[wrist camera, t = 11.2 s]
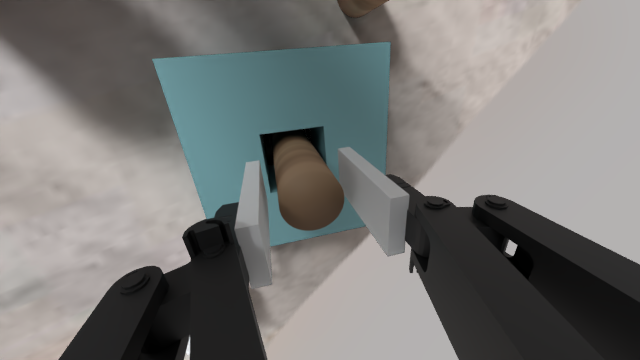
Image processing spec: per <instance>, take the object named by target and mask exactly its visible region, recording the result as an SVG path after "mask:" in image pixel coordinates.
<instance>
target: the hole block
mask: <svg viewBox="0 0 640 360" xmlns="http://www.w3.org/2000/svg"><path fill="white" fill-rule="evenodd" d="M390 45H391V42H380V43H366V44H352V45H338V46H325V47H311V48H297V49H283V50H269V51H255V52H242V53H228V54H214V55H200V56H186V57H173V58H159V59H152V60H153V63H154V66H155V69H156V72H157V75H158V78H159V80H160V83H161V86H162V89H163V92H164V95H165V98H166V101H167V104H168V107H169V110H170V113H171V116H172V119H173V122H174V125H175V127H176V130H177V133H178V136H179V139H180V142H181V145H182V148H183V151H184V154H185V157H186V160H187V163H188V166H189V169H190V171H191V174H192V177H193V180H194V183H195V186H196V189H197V192H198V195H199V198H200V201H201V204H202V207H203V210H204V213H205V215H206V218H207V219H210V218H214V216H215V213H216V211H217V210H218V209H219V208H220V207H221V206H222V205H225V204H230V203H236V202H239V200H240V194H241V188H242V182H243V177H244V171H245V165H246V162H251V161H258V160H260V165H261V170H262V175H263V180H264V185H265V190H266V195H267V200H268V215H269V234H270V247H271V246H275V245H280V244H285V243H289V242H294V241H299V240H303V239H308V238H313V237H317V236H322V235H327V234H332V233H336V232H341V231H346V230H350V229H355V228H360V227H364V226H366V225H365V224H364V222H363V221H362V219H361V218H360V216H359V215H358V214H357V212H356V211H355V209H354V208H353V206H352V205H351V204H350V202H349V201H348V199H347V198H346V197H345V195H344V205H343V208H342V211H341V213H340V214H339V216H338V217H337V218H336V219H335V220H334V221H333V222H332V223H331V224H329V225H328V226H326V227H324V228H321V229H318V230H313V231H304V230H299V229H296V228H294V227H292V226H290V225H289V224H288V223H286V221H285V220H284V219H283V217H282V216H281V213H280V210H279V203H278V194H277V185H276V177H275V168H274V165H269V166H268V161H267V156H266V150H265V145H264V140H263V134H268V133H275V132H283V131H290V130H298V129H306V128H310V136H311V143H312V145H313V146H314V148H315V149H316V151H317V152H318V153H319V155H320V156H321V158H322V159H323V160H324V162H325V163H326V165H327V166H328V168H329V169H330V170H331V172H332V173H333V175H334V176H335V177H336V179H337V180H338V182H339V164H338V148H345V147H350V148H352V149H353V150H354V151H355V152H357V153H358V154H359V155H360V156H362V157H363V158H364V159H365V160H367V161H368V162H369V163H370V164H372V165H373V166H374V167H375V168H377V169H378V170H379V171H380V172H382V173H383V174H384V175H385V174H386V148H387V122H388V97H389V71H390Z"/></svg>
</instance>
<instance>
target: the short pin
mask: <svg viewBox="0 0 640 360" xmlns="http://www.w3.org/2000/svg"><path fill="white" fill-rule="evenodd" d="M337 1H338V4H339V7H340V8H341V10H342V11H343V12H344V13H345V14H346V15H347V16H349V17H353V18H358V17H361V16H363V15H365V14H367V13H368V12H370V11H372V10H373V9H375V8H377V7H379V6H380V5H382V4H384V3H385V2H387V1H389V0H337Z"/></svg>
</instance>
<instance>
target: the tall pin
mask: <svg viewBox="0 0 640 360" xmlns="http://www.w3.org/2000/svg"><path fill="white" fill-rule="evenodd" d="M271 142H272V150H273V159H274V168H275V177H276V185H277V194H278V203H279V210H280V213H281V216H282V217H283V219H284V220H285V221H286V223H288V224H289V225H290V226H292V227H294V228H296V229H299V230H304V231H313V230H318V229H321V228H324V227H326V226H328V225H329V224H331V223H332V222H333V221H334V220H335V219H336V218H337V217H338V216H339V214H340V213H341V211H342V208H343V205H344V191H343V188H342V186H341V185H340V183H339V182H338V180H337V179H336V177H335V176H334V175H333V173H332V172H331V170H330V169H329V168H328V166H327V165H326V163H325V162H324V160H323V159H322V158H321V156H320V155H319V153H318V152H317V151H316V149H315V148H314V146H313V145H312V143H311V142H310V141H309V139H308V138H307V136H306V135H305V133H304V132H303V131H302V129H298V130H290V131H283V132H275V133H273V135H272V139H271Z"/></svg>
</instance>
